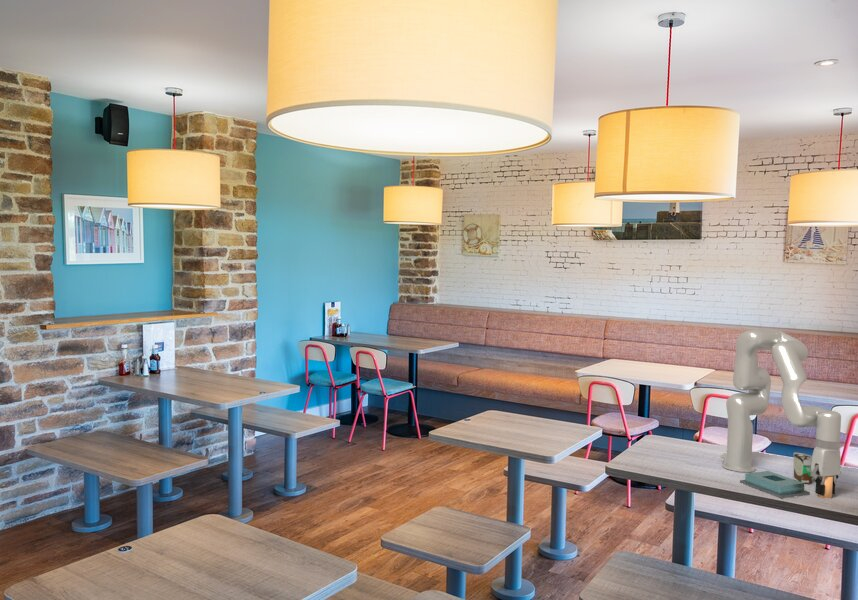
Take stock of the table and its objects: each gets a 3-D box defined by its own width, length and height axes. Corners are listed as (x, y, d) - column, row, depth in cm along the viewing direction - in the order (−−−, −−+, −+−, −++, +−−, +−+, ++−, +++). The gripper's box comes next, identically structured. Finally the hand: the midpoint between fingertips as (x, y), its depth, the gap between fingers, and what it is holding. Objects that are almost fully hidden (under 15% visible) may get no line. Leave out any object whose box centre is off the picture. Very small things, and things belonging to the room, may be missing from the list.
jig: (739, 482, 261) (740, 472, 261) (766, 479, 266) (767, 469, 266) (781, 498, 243) (782, 487, 243) (809, 494, 248) (810, 484, 248)
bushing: (815, 495, 248) (816, 474, 247) (823, 494, 249) (824, 473, 249) (826, 499, 243) (827, 477, 243) (834, 498, 245) (835, 476, 245)
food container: (820, 487, 258) (821, 461, 258) (802, 485, 259) (804, 460, 259) (808, 477, 270) (810, 453, 270) (792, 476, 271) (793, 451, 271)
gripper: (834, 440, 252) (831, 488, 253) (801, 443, 246) (799, 492, 247) (853, 445, 245) (850, 494, 246) (820, 448, 239) (817, 499, 240)
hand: (825, 493), depth 246 cm, fingers open, 4 cm apart
